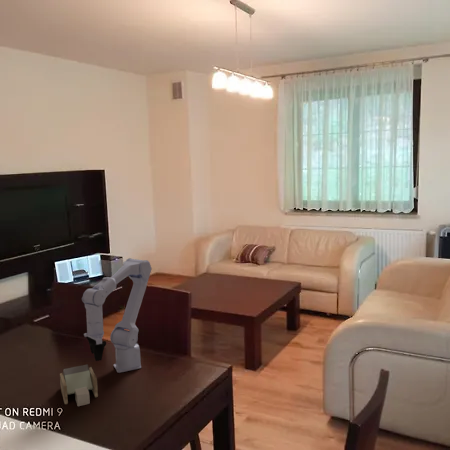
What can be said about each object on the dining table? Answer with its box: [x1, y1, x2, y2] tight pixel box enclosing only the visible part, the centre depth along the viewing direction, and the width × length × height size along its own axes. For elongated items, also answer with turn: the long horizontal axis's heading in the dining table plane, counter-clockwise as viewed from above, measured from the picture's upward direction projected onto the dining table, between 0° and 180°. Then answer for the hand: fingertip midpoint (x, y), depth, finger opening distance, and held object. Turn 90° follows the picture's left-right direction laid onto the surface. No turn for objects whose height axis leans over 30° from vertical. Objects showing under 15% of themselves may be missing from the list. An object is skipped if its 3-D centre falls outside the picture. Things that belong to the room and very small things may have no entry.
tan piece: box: [59, 366, 99, 405], centre depth 164 cm, size 11×11×6 cm
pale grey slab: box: [62, 364, 93, 396], centre depth 165 cm, size 8×10×3 cm
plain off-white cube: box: [74, 387, 91, 407], centre depth 159 cm, size 4×4×5 cm
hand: (96, 356), depth 171 cm, fingers open, 7 cm apart
